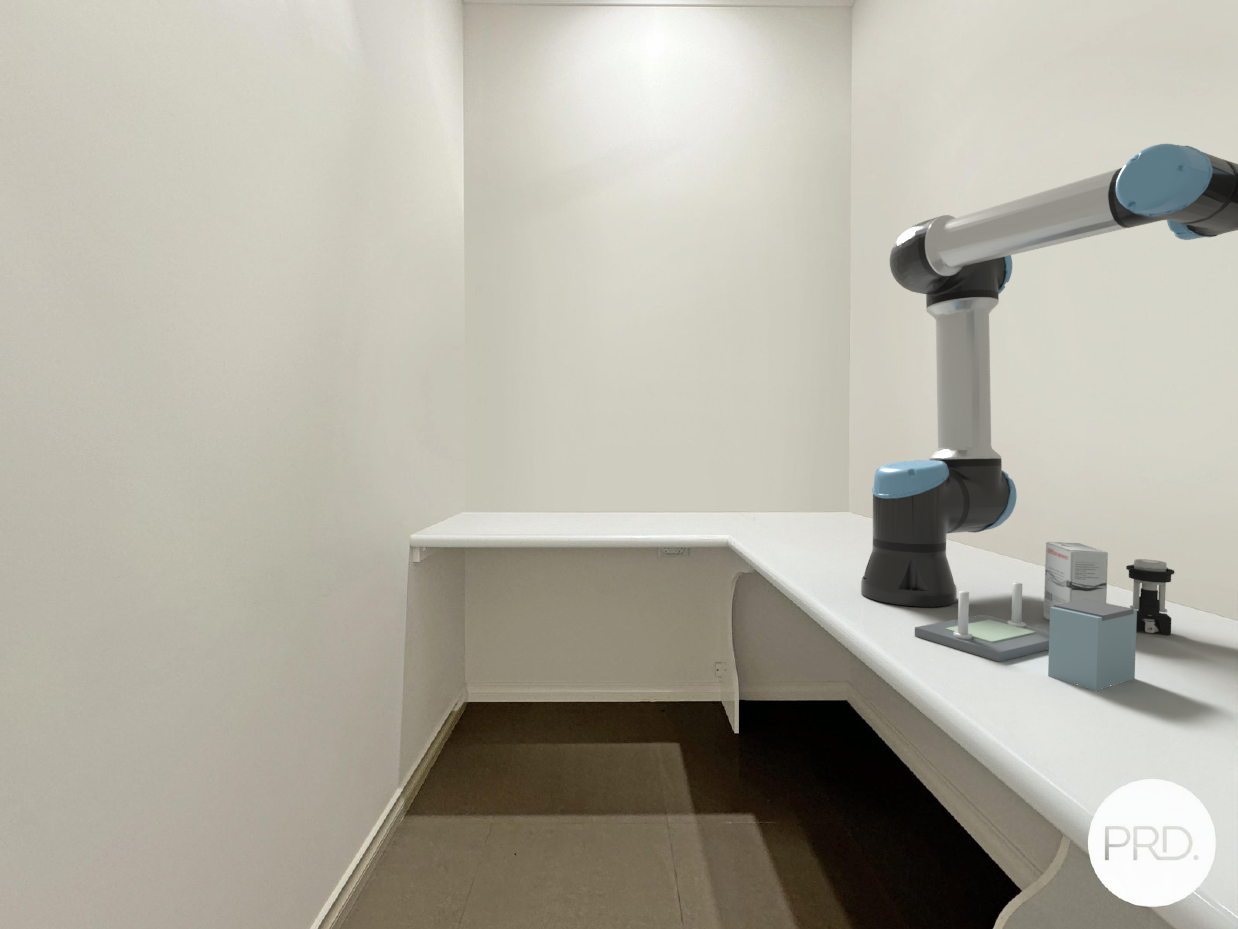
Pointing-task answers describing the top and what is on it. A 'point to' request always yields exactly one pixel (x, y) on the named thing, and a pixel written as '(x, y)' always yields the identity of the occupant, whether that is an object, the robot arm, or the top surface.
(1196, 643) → the top surface
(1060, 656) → the block
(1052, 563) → the ink box
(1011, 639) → the pin tray
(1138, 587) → the push button
